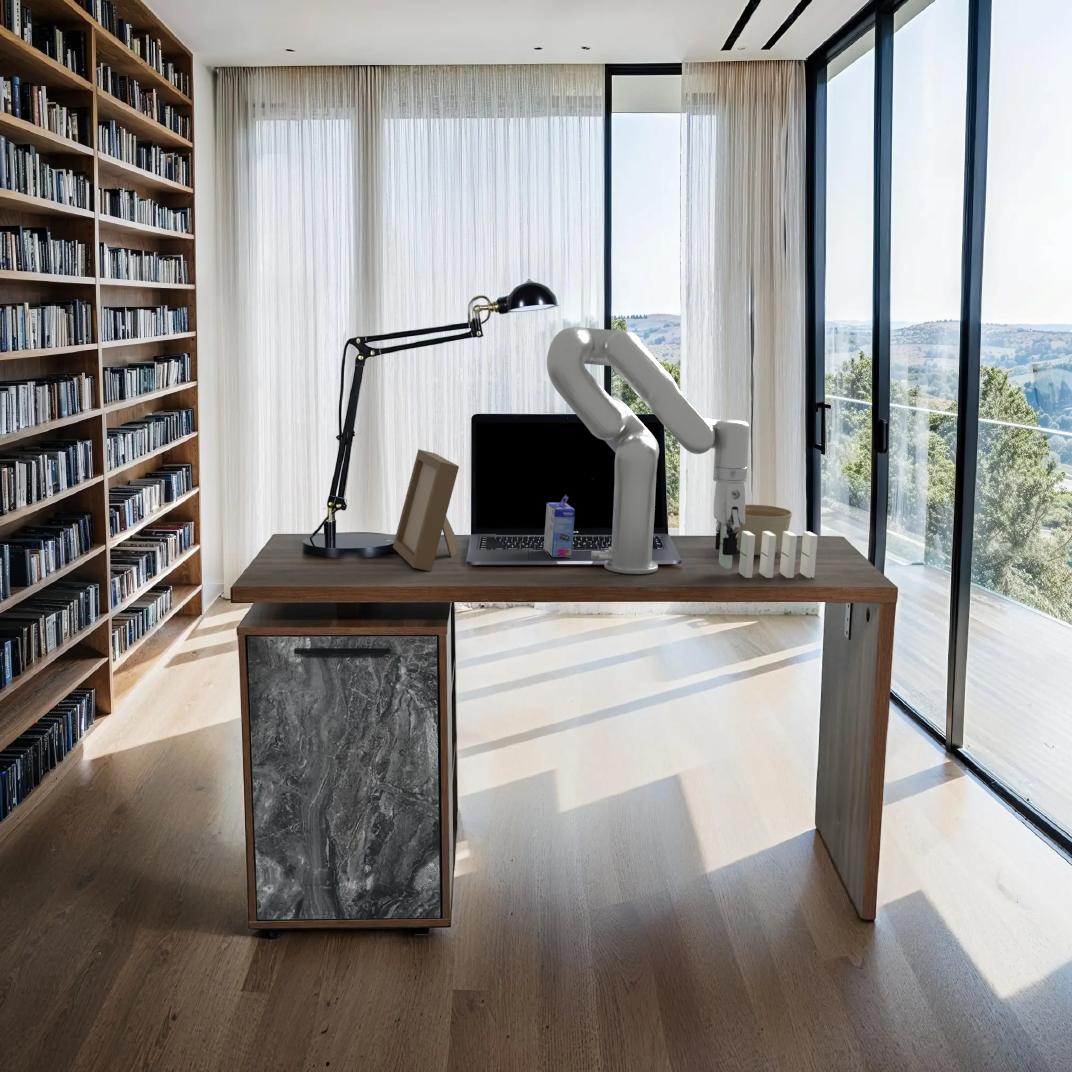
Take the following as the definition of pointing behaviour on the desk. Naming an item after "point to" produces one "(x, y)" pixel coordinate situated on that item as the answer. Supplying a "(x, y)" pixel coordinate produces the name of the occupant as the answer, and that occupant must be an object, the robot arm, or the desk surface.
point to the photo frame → (426, 511)
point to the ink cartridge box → (559, 528)
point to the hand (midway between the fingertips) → (725, 551)
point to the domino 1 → (723, 559)
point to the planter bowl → (764, 523)
